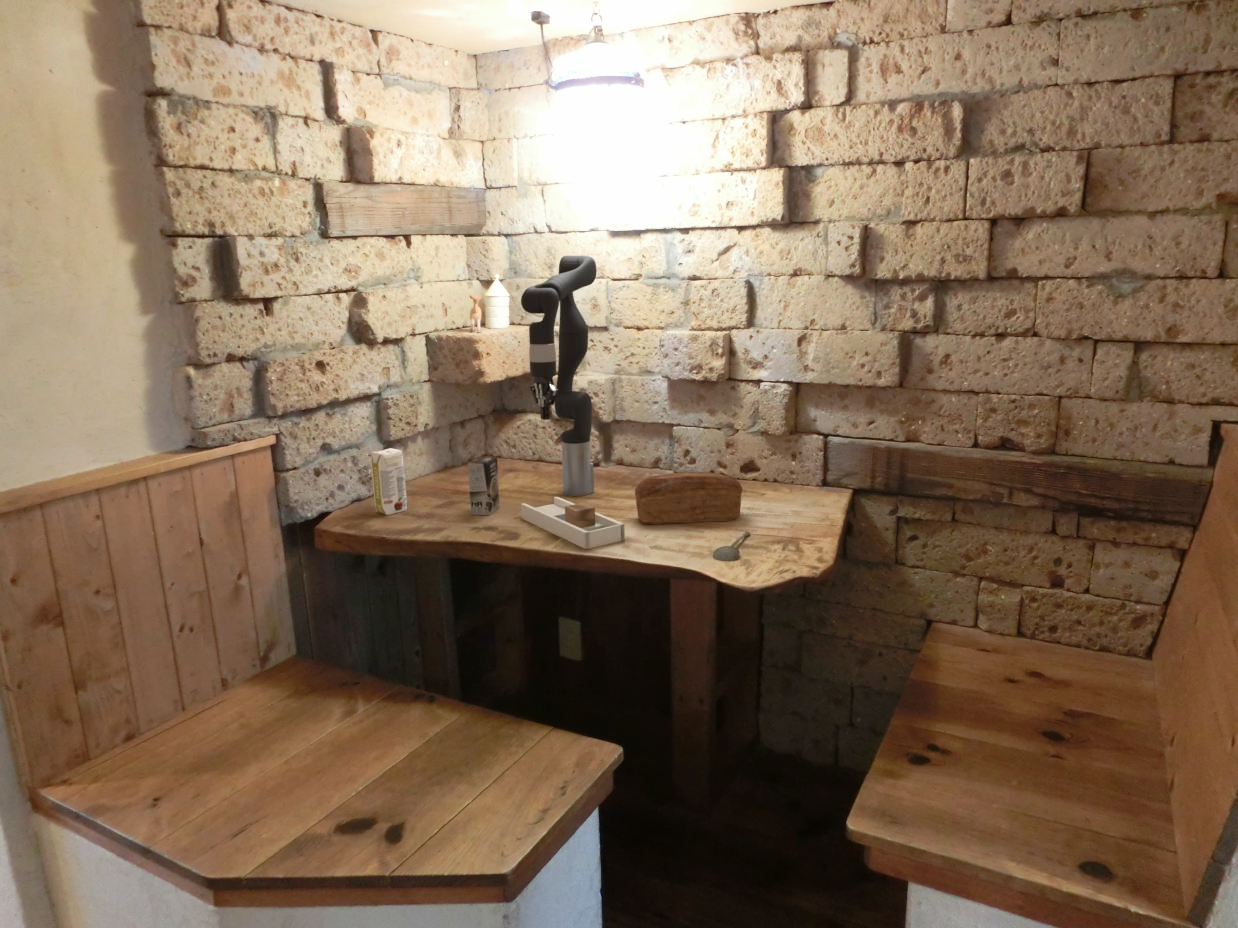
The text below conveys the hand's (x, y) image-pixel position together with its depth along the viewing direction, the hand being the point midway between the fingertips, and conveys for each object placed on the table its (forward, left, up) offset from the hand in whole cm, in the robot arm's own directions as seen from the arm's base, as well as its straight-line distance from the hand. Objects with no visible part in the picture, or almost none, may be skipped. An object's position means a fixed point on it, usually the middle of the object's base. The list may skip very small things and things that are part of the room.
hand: (545, 419), depth 246 cm
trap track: (+2, +15, -29) cm, 33 cm away
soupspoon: (-23, +56, -30) cm, 68 cm away
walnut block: (+2, +20, -26) cm, 33 cm away
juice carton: (+36, -34, -29) cm, 57 cm away
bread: (-30, +29, -29) cm, 51 cm away
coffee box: (+13, -16, -29) cm, 36 cm away
